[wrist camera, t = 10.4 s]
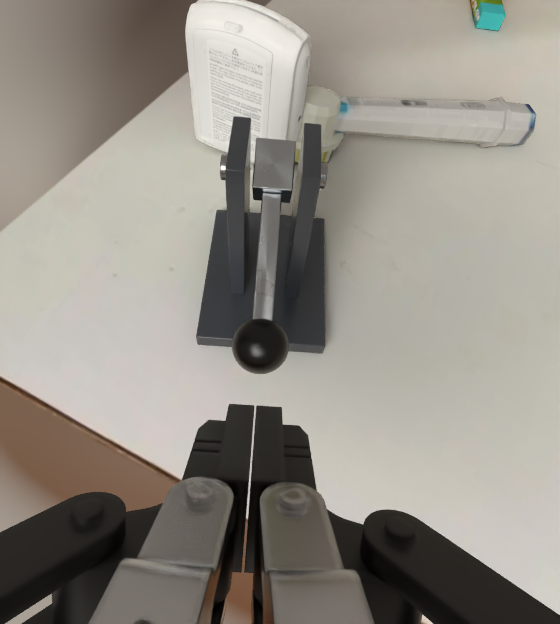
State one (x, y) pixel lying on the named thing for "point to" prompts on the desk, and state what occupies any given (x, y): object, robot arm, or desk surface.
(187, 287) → the desk surface
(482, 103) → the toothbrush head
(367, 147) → the desk surface
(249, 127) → the dark grey pivot stand
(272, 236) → the lever with ball knob
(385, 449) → the desk surface
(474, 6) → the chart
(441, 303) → the desk surface
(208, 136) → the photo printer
